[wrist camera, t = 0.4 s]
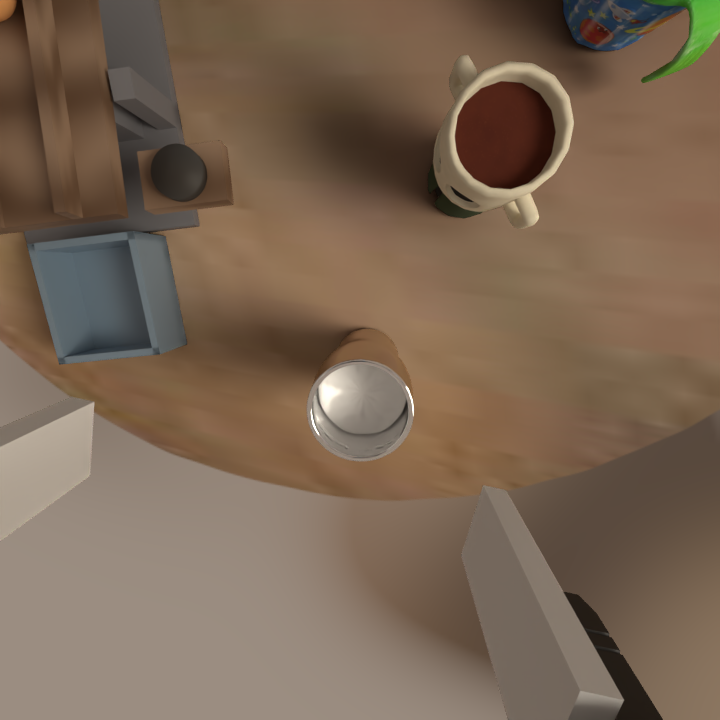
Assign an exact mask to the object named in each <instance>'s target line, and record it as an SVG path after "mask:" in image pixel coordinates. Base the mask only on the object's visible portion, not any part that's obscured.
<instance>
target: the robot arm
mask: <svg viewBox="0 0 720 720" xmlns="http://www.w3.org/2000/svg"><path fill="white" fill-rule="evenodd" d="M93 415H94V402H93V401H88V400H84V399H79V398H74V397H70V398H68V399H65V400H63V401H61V402H58V403H56V404H54V405H52V406H49V407H47V408H44V409H42V410H40V411H37V412H35V413H33V414H31V415H28V416H26V417H24V418H21V419H19V420H16V421H14V422H12V423H10V424H7V425H5V426H3V427H0V541H1V540H3V539H4V538H5V537H6V536H8V535H9V534H11V533H12V532H14V531H15V530H16V529H18V528H19V527H20V526H22V525H23V524H24V523H26V522H27V521H29V520H30V519H31V518H33V517H34V516H35V515H37V514H38V513H40V512H41V511H42V510H43V509H45V508H46V507H48V506H49V505H51V504H52V503H53V502H55V501H56V500H57V499H59V498H60V497H62V496H63V495H64V494H66V493H67V492H68V491H70V490H71V489H73V488H74V487H75V486H77V485H78V484H79V483H81V482H82V481H84V480H85V479H86V478H87V477H89V476H90V468H91V451H92V433H93ZM461 556H462V560H463V563H464V567H465V570H466V573H467V577H468V581H469V584H470V588H471V591H472V594H473V599H474V602H475V606H476V609H477V613H478V616H479V620H480V623H481V627H482V630H483V634H484V637H485V641H486V644H487V648H488V651H489V655H490V659H491V662H492V666H493V669H494V673H495V676H496V679H497V683H498V687H499V690H500V694H501V697H502V701H503V704H504V708H505V712H506V715H507V718H508V720H663V719H662V717H661V716H660V714H659V713H658V711H657V709H656V708H655V706H654V704H653V703H652V701H651V700H650V698H649V697H648V695H647V693H646V692H645V690H644V689H643V687H642V685H641V684H640V682H639V680H638V679H637V677H636V676H635V674H634V673H633V671H632V669H631V668H630V666H629V664H628V663H627V661H626V660H625V658H624V657H623V655H620V650H619V648H618V647H617V645H616V644H615V642H614V640H613V639H612V638H611V637H609V633H608V631H607V629H606V628H605V626H604V624H603V623H602V621H601V620H600V618H599V616H598V615H597V613H596V612H594V610H593V609H592V608H591V607H590V606H589V605H588V604H587V603H586V602H584V600H583V599H582V598H581V597H580V596H579V595H577V594H572V593H567V592H563V591H562V589H561V587H560V585H559V584H558V582H557V580H556V578H555V576H554V575H553V573H552V571H551V570H550V568H549V566H548V564H547V562H546V561H545V559H544V557H543V555H542V553H541V552H540V550H539V548H538V546H537V545H536V543H535V541H534V539H533V537H532V536H531V534H530V532H529V530H528V529H527V527H526V525H525V523H524V522H523V520H522V518H521V516H520V515H519V513H518V511H517V509H516V507H515V505H514V504H513V502H512V500H511V498H510V497H509V495H508V493H507V491H506V490H503V489H498V488H493V487H489V486H484V485H483V488H482V491H481V494H480V498H479V501H478V504H477V507H476V510H475V513H474V516H473V520H472V523H471V526H470V529H469V532H468V535H467V539H466V542H465V545H464V548H463V551H462V554H461Z"/></svg>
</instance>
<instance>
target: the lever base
mask: <svg viewBox="0 0 720 720" xmlns="http://www.w3.org/2000/svg"><path fill="white" fill-rule="evenodd" d="M98 1H99V8H100V16H101V23H102V30H103V37H104V44H105V52H106V59H107V66H108V70H107V71H108V75H109V80H110V88H111V95H112V102H113V109H114V116H115V123H116V131H117V138H118V145H119V152H120V159H121V167H122V174H123V181H124V188H125V195H126V203H127V210H128V217H129V218H126V219H118V220H110V221H102V222H94V223H86V224H78V225H70V226H62V227H55V228H47V229H39V230H31V231H24V234H25V238H26V242H27V244H33V243H41V242H49V241H57V240H65V239H73V238H81V237H89V236H97V235H105V234H113V233H121V232H129V231H137V232H143V233H149V232H157V231H166V230H174V229H182V228H190V227H198V226H200V225H199V219H198V214H197V209H196V210H189V211H181V212H173V213H165V214H157V215H154V214H152V213H150V212H148V211H146V210H145V207H144V199H143V192H142V185H141V177H140V170H139V162H138V155H137V152H138V151H146V150H153V149H160V148H163V147H164V146H166V145H169V144H175V143H177V144H183V145H185V143H184V138H183V132H182V127H181V121H180V116H179V110H178V105H177V99H176V94H175V89H174V83H173V78H172V72H171V67H170V61H169V56H168V51H167V45H166V40H165V34H164V29H163V23H162V18H161V12H160V7H159V2H158V0H98Z"/></svg>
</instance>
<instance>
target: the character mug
mask: <svg viewBox="0 0 720 720" xmlns="http://www.w3.org/2000/svg"><path fill="white" fill-rule="evenodd" d="M449 87H450V90H451V93H452V95H453V97H454V99H455V103H454V105H453V106H452V108H451V109H450V111H449V112H448V114H447V115H446V117H445V119H444V121H443V124H442V127H441V128H440V130H439V132H438V134H437V138H436V142H435V146H434V157H433V164H432V166H431V168H430V171H429V173H428V191H429V193H431V192H432V191H433V190H434V189H435V188H436V194H437V196H438V197H439V198H438V199H437V200H436V202H435V205H436V207H437V208H439V209H440V210H441V211H443V212H444V213H445V214H447V215H448V216H453V217H459V218H467V217H471V216H474V215H477V214H481V213H482V212H485V211H489V210H493V209H496V208H499V207H502V206H503V208H504V210H505V212H506V214H507V216H508V219H509V221H510V223H511V224H512V226H513V227H514V228H516V229H522V228H526V227H529V226H532V225H534V224H535V223H536V221H537V220H538V219H539V215H538V211H537V208H536V205H535V203H534V201H533V199H532V196H531V194H530V193H531V192H532V191H534V190H535V189H536V188H537V187H539V186H540V185H541V184H542V183H543V182H545V181H546V180H547V179H548V178H550V177H551V176H552V175H553V174H554V173H555V172H556V170H557V169H558V167H559V165H560V164H561V162H562V160H563V159H564V157H565V155H566V153H567V152H568V150H569V146H570V141H571V135H572V130H573V125H574V121H573V115H572V109H571V104H570V98H569V96H568V94H567V93H566V91H565V90H564V88H563V87H562V86H561V84H560V83H559V81H558V80H557V78H556V77H555V76H554V75H553V74H551V73H549V72H547V71H546V70H544V69H542V68H540V67H539V66H537V65H535V64H534V63H524V62H511V61H507V62H504V63H501V64H499V65H496V66H493V67H490V68H487V69H485V70H483V71H482V72H480V73H479V74H478V73H477V71H476V68H475V66H474V64H473V62H472V61H471V59H470V58H469V56H468V55H462V56H460V57H459V58H458V59H457V61H456V62H455V64H454V67H453V69H452V72H451V75H450V78H449Z"/></svg>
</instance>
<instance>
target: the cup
mask: <svg viewBox="0 0 720 720" xmlns="http://www.w3.org/2000/svg"><path fill="white" fill-rule="evenodd" d="M27 247H28V251H29V254H30V258H31V262H32V266H33V269H34V273H35V277H36V280H37V284H38V288H39V291H40V295H41V299H42V302H43V306H44V310H45V313H46V317H47V321H48V324H49V328H50V332H51V335H52V339H53V343H54V347H55V350H56V354H57V358H58V361H59V364H69V363H79V362H89V361H99V360H108V359H118V358H128V357H138V356H148V355H157V354H162V353H165V352H167V351H170V350H173V349H175V348H178V347H181V346H183V345H186V344H187V341H186V336H185V331H184V326H183V321H182V316H181V311H180V306H179V301H178V296H177V291H176V286H175V281H174V276H173V271H172V266H171V261H170V256H169V251H168V246H167V242H166V237H165V236H161V235H155V234H149V233H143V232H137V231H129V232H121V233H113V234H105V235H97V236H89V237H81V238H73V239H65V240H57V241H49V242H41V243H33V244H27Z"/></svg>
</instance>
